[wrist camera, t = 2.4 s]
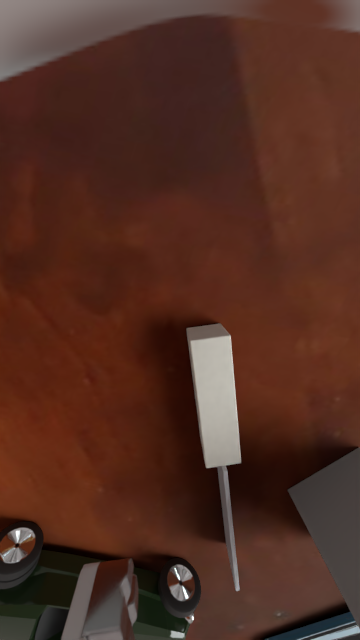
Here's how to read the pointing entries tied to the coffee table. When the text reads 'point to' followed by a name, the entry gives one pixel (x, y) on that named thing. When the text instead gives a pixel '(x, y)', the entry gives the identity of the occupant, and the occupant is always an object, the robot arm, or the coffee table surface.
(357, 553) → the perfume bottle
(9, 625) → the toy car
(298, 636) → the smartphone
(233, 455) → the knife
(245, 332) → the coffee table surface
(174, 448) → the coffee table surface
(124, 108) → the coffee table surface
